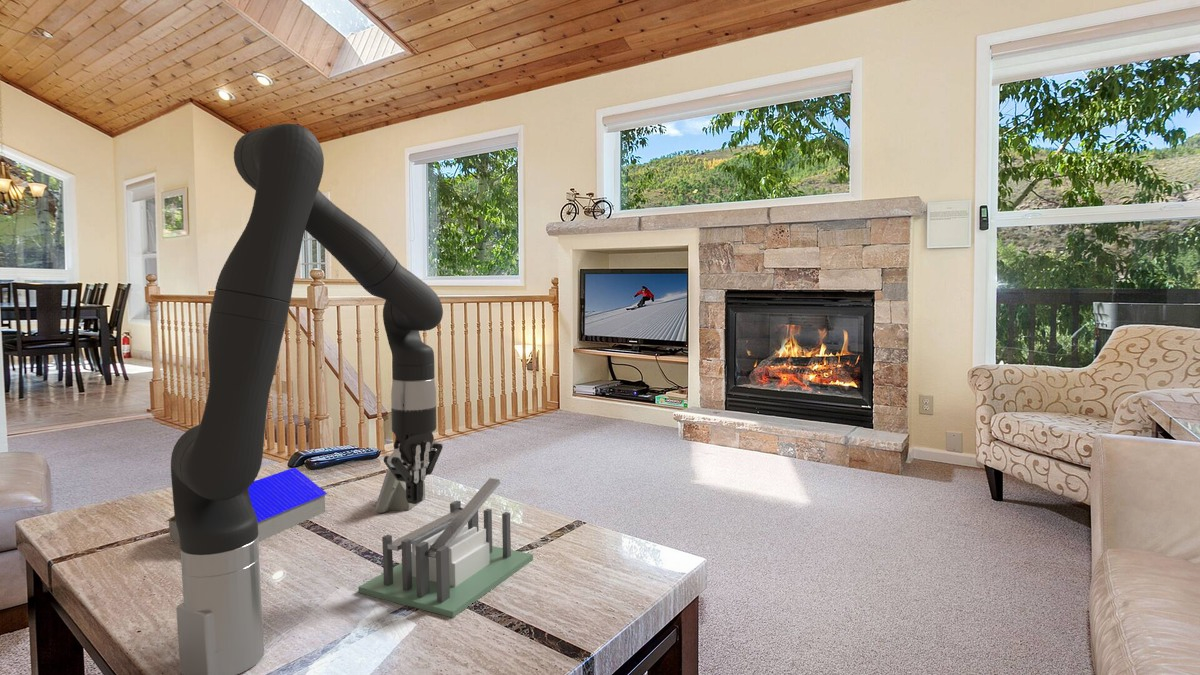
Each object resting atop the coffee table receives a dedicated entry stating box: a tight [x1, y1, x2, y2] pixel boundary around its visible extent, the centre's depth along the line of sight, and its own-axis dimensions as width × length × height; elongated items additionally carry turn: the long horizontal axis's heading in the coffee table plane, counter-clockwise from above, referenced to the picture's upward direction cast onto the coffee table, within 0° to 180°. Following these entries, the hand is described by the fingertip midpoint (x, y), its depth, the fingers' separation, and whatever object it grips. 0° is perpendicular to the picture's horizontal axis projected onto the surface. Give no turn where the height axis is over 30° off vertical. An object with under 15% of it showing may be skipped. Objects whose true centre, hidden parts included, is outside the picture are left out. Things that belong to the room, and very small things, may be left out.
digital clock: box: [375, 461, 426, 514], centre depth 155 cm, size 16×9×11 cm, turn 159°
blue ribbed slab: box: [165, 467, 328, 543], centre depth 141 cm, size 19×25×10 cm
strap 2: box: [425, 477, 501, 558], centre depth 114 cm, size 20×2×1 cm, turn 154°
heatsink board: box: [357, 500, 534, 619], centre depth 117 cm, size 24×20×10 cm
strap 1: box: [387, 507, 464, 552], centre depth 118 cm, size 20×2×1 cm, turn 155°
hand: (414, 502), depth 114 cm, fingers closed
